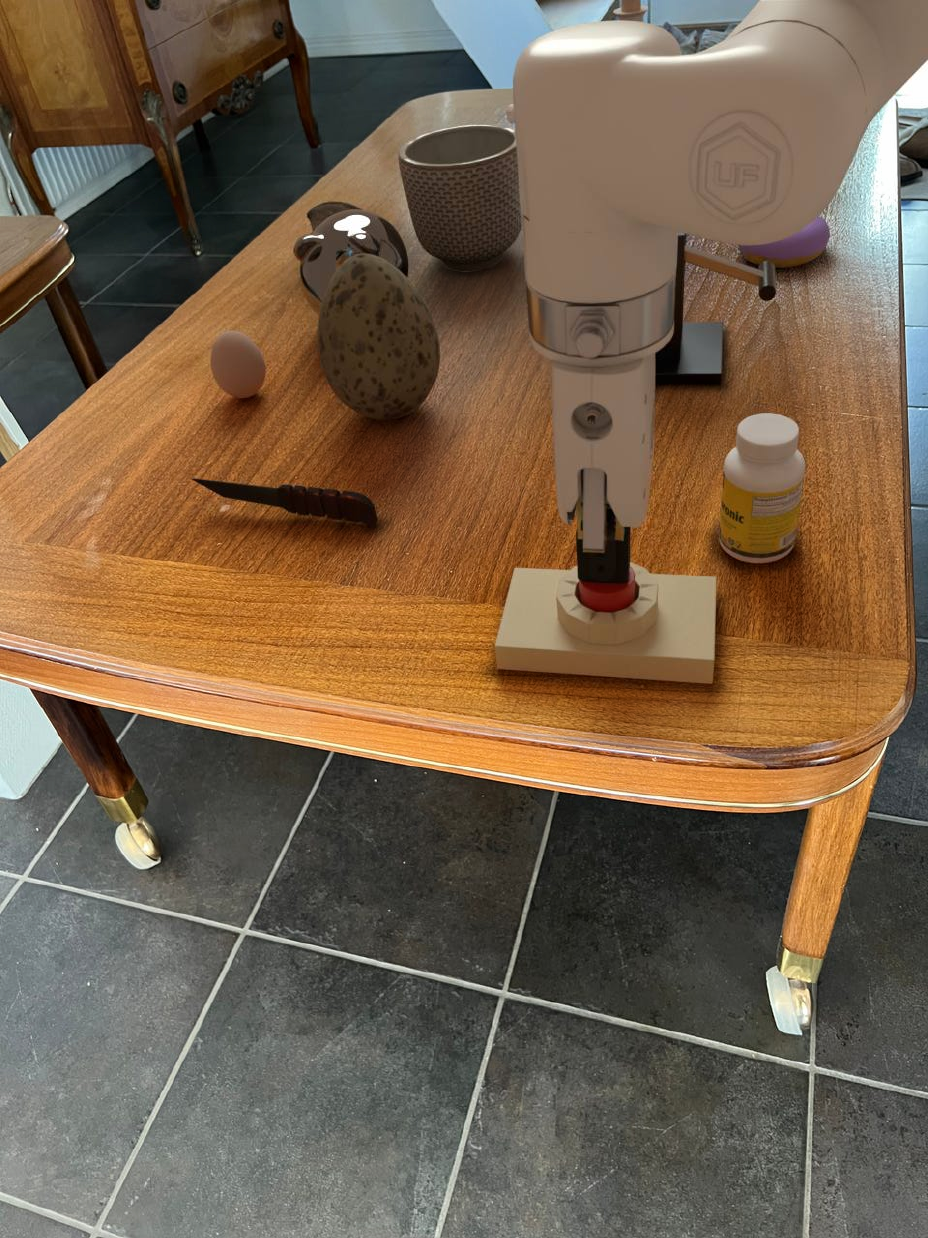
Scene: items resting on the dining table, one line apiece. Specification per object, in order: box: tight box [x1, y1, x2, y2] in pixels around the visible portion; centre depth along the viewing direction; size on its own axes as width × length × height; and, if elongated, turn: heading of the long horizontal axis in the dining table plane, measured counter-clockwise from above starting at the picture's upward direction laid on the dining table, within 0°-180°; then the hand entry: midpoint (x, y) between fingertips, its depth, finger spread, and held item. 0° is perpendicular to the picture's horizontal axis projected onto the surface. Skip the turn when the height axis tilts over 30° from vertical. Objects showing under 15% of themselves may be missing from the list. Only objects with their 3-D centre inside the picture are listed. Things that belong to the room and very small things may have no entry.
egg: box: [210, 330, 267, 399], centre depth 93 cm, size 5×5×7 cm
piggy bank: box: [292, 208, 409, 316], centre depth 100 cm, size 11×15×12 cm
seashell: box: [306, 201, 363, 231], centre depth 116 cm, size 16×9×7 cm, turn 176°
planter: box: [398, 123, 522, 273], centre depth 109 cm, size 14×14×13 cm
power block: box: [494, 561, 718, 685], centre depth 64 cm, size 14×8×4 cm, turn 78°
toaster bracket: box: [655, 231, 724, 386], centre depth 87 cm, size 12×10×13 cm
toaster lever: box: [684, 244, 777, 302], centre depth 84 cm, size 12×5×2 cm, turn 78°
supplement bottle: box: [718, 412, 806, 564], centre depth 67 cm, size 5×5×10 cm
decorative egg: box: [317, 254, 441, 421], centre depth 85 cm, size 11×11×15 cm
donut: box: [737, 215, 831, 269], centre depth 104 cm, size 10×9×5 cm
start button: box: [579, 566, 635, 613], centre depth 62 cm, size 4×4×2 cm
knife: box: [191, 478, 379, 529], centre depth 79 cm, size 17×1×3 cm, turn 71°
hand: (604, 574), depth 62 cm, fingers closed
